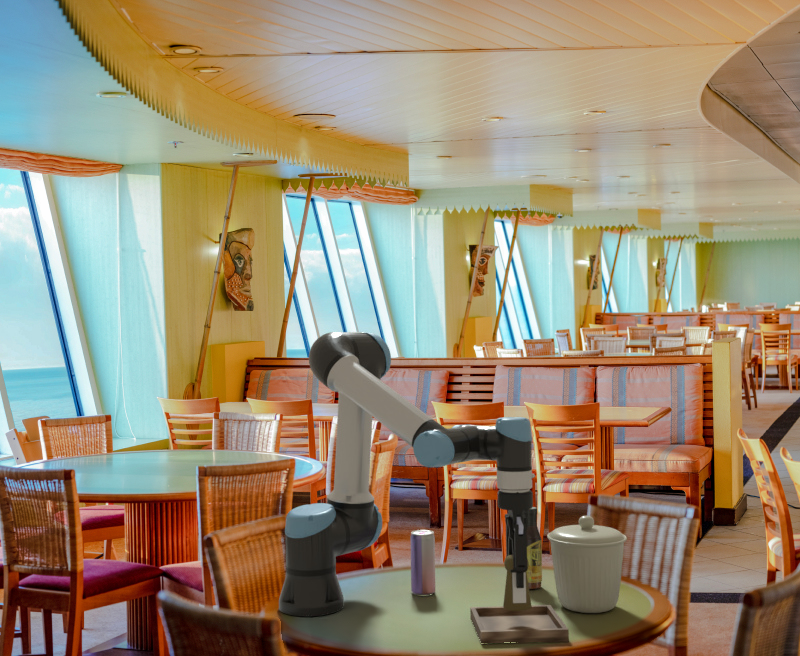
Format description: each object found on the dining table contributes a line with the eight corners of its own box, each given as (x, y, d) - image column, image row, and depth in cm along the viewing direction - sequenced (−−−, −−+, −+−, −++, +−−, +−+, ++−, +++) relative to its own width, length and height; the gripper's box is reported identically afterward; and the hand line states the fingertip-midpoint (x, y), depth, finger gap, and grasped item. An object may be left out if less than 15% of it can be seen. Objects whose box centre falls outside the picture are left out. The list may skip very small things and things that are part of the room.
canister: (642, 615, 205) (640, 520, 205) (566, 621, 201) (564, 525, 202) (607, 594, 223) (606, 507, 223) (537, 599, 219) (535, 511, 219)
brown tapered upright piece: (530, 611, 193) (529, 558, 193) (501, 610, 194) (500, 558, 194) (532, 603, 198) (531, 552, 199) (504, 602, 200) (503, 551, 200)
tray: (481, 644, 187) (480, 632, 187) (470, 618, 205) (470, 607, 205) (568, 641, 187) (568, 629, 187) (550, 616, 205) (550, 604, 205)
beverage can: (410, 596, 224) (409, 534, 224) (412, 589, 230) (411, 529, 230) (434, 596, 223) (433, 534, 223) (436, 590, 229) (435, 529, 229)
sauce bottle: (536, 591, 226) (534, 510, 226) (512, 588, 229) (511, 508, 230) (546, 585, 231) (545, 506, 232) (523, 582, 235) (522, 504, 235)
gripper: (540, 495, 188) (543, 610, 187) (524, 483, 206) (527, 587, 205) (504, 496, 188) (506, 611, 187) (491, 484, 205) (493, 588, 205)
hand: (517, 598), depth 196 cm, fingers closed on brown tapered upright piece, 5 cm apart
